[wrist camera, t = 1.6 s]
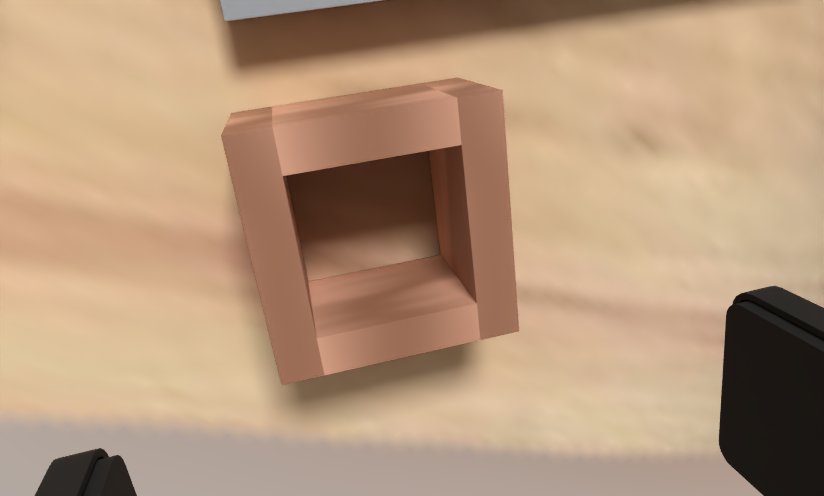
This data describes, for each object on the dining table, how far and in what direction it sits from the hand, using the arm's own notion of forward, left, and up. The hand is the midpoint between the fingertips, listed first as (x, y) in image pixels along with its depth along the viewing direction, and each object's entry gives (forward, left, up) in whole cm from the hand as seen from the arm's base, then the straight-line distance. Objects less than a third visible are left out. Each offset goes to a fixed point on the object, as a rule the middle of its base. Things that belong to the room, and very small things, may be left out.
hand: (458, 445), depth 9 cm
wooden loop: (0, 0, -12) cm, 12 cm away
